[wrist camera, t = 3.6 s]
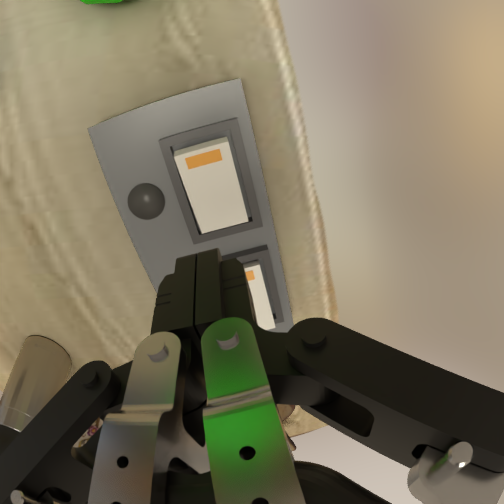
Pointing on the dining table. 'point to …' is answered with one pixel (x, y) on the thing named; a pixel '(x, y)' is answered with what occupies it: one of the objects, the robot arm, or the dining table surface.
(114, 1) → the plastic bottle
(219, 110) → the rocker switch panel
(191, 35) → the dining table surface
